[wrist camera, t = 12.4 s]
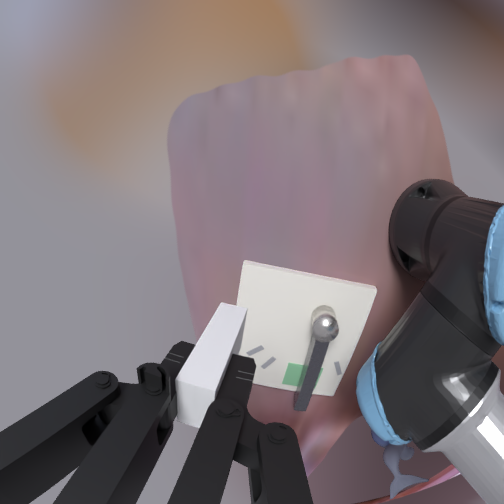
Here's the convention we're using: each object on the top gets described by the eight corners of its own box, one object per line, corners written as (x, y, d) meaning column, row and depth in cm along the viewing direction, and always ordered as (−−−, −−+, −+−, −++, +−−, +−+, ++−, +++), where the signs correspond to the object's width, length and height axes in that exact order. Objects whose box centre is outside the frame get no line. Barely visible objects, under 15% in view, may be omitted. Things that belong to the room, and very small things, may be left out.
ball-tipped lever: (314, 303, 38) (315, 318, 34) (337, 306, 38) (341, 321, 33) (290, 392, 43) (289, 410, 39) (309, 395, 43) (309, 412, 39)
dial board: (374, 285, 38) (377, 290, 36) (332, 390, 44) (333, 396, 42) (245, 260, 40) (242, 263, 38) (227, 371, 46) (225, 377, 45)
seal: (388, 435, 46) (401, 502, 27) (361, 418, 45) (371, 495, 26) (417, 416, 44) (438, 483, 25) (394, 397, 43) (416, 475, 24)
